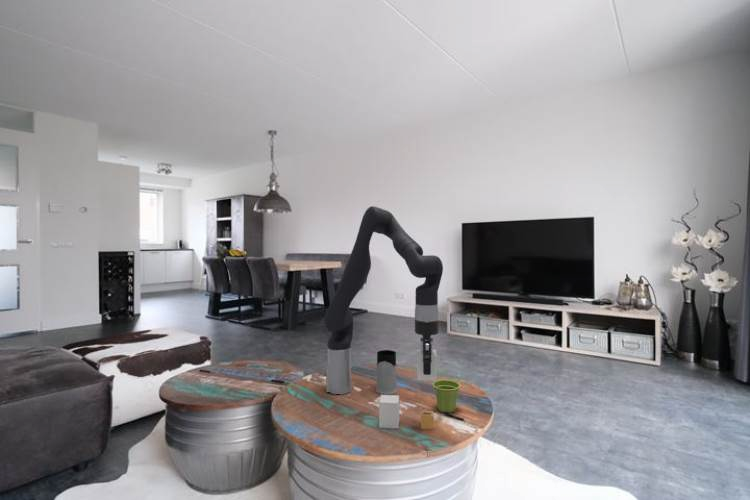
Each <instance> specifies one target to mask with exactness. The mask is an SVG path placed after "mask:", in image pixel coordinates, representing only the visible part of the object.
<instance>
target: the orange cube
mask: <svg viewBox="0 0 750 500" xmlns="http://www.w3.org/2000/svg"><path fill="white" fill-rule="evenodd" d="M420 429H422V430H423V429H424V430H434V429H435V415H434V411H433V410H420Z"/></svg>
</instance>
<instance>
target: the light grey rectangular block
mask: <svg viewBox="0 0 750 500" xmlns="http://www.w3.org/2000/svg"><path fill="white" fill-rule="evenodd" d="M432 350H433V354H432V355H431V360H432V362H431V374H430V375H424V373H423V355H422V354H421V349H416V351H417V352H416V354H417V355H416V359H417V360H416V363H417V364H416V370H417V371H416V376H417V377H416V378H417V379H416V380H417V381H422V382H425V381H426V382H435V381H438V365H437V364H438V362H437V361H438V356H437V350H436V349H432ZM425 358H429V355H425Z"/></svg>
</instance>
